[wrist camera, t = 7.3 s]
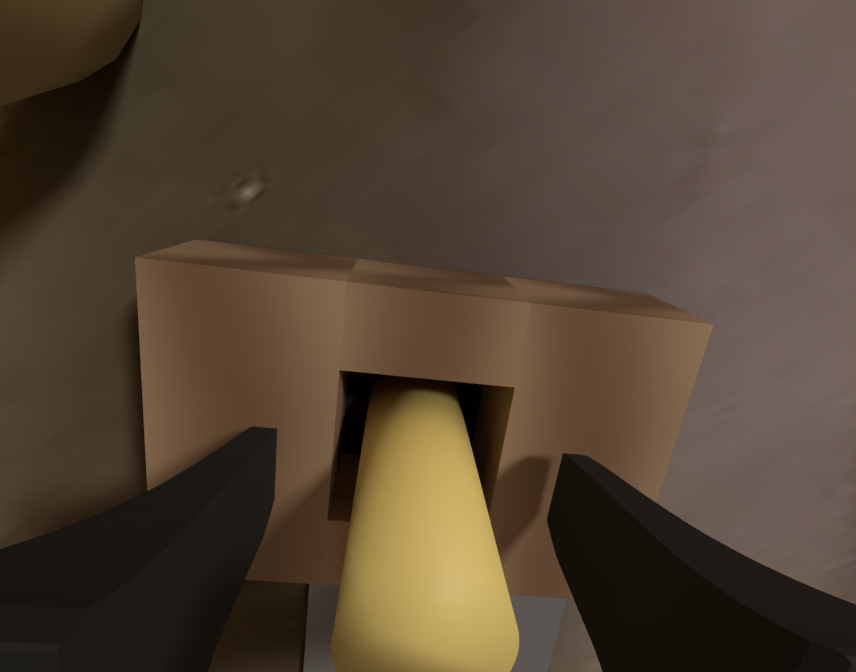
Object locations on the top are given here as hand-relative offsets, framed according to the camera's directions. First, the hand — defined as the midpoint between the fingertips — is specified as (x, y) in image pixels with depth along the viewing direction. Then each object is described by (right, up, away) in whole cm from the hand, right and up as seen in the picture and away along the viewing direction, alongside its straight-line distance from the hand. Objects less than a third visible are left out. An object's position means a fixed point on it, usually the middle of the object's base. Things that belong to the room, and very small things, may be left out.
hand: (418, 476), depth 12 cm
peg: (0, +1, +4) cm, 4 cm away
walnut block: (0, +1, +4) cm, 4 cm away
